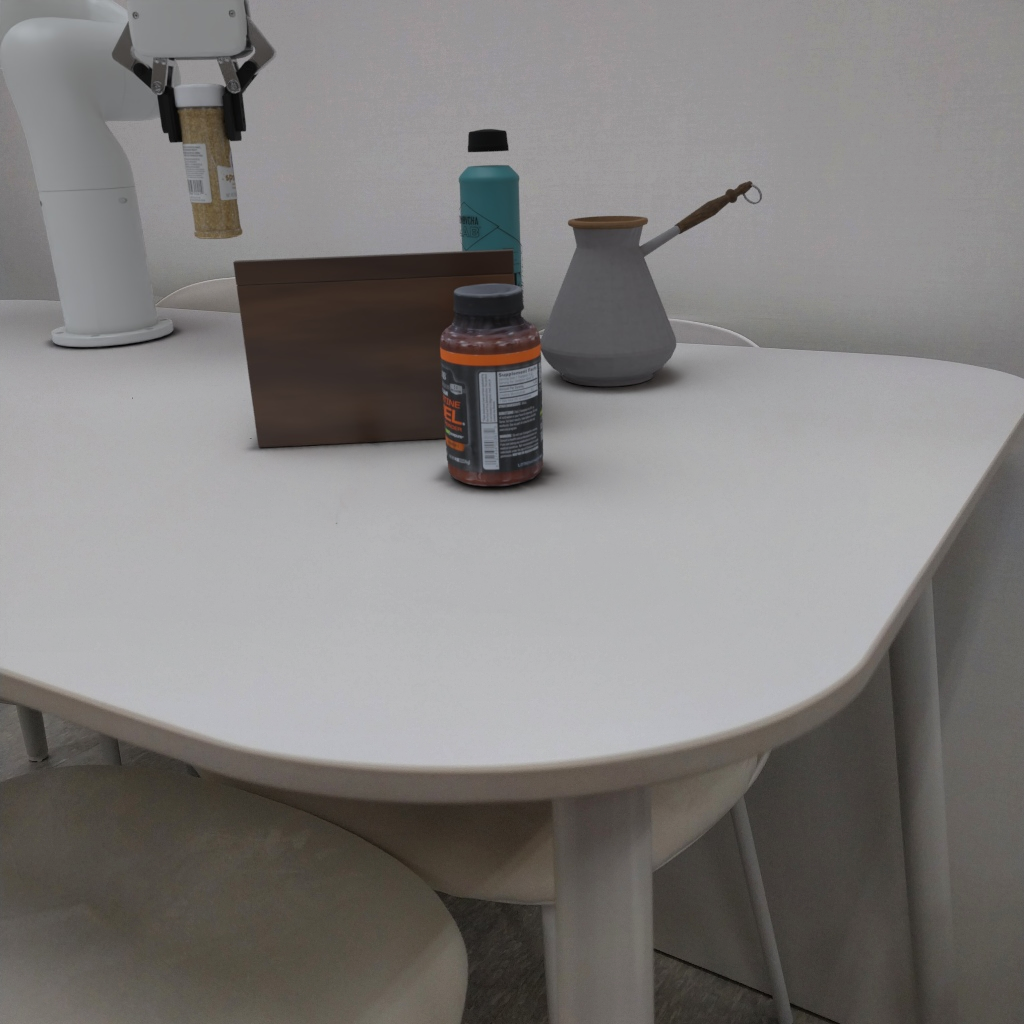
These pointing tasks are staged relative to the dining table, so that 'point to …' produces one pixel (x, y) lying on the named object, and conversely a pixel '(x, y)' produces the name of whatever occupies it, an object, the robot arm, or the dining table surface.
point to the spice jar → (208, 160)
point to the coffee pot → (615, 301)
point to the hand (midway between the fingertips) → (206, 139)
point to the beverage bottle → (490, 201)
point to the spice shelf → (353, 342)
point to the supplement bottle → (492, 388)
